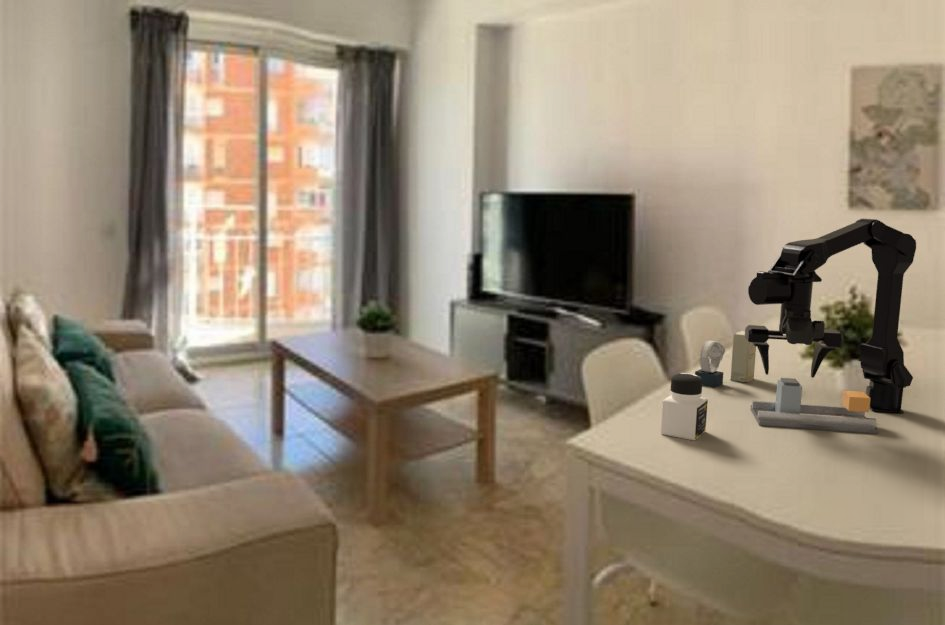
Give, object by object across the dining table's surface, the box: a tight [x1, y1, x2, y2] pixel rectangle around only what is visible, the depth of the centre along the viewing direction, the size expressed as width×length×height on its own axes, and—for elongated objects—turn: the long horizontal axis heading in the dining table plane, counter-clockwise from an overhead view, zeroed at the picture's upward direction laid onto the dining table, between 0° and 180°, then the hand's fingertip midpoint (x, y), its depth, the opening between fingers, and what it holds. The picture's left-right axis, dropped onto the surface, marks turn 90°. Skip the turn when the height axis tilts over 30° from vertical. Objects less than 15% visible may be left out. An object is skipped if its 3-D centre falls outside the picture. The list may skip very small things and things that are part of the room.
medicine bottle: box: [660, 372, 709, 441], centre depth 159 cm, size 7×7×12 cm
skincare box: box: [730, 330, 757, 383], centre depth 203 cm, size 6×4×12 cm
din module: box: [775, 377, 803, 413], centre depth 169 cm, size 4×5×8 cm
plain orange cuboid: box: [841, 390, 870, 413], centre depth 167 cm, size 4×5×3 cm
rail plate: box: [750, 400, 879, 435], centre depth 169 cm, size 23×12×2 cm, turn 79°
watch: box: [694, 339, 726, 389], centre depth 198 cm, size 6×8×11 cm
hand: (789, 375), depth 169 cm, fingers open, 9 cm apart
